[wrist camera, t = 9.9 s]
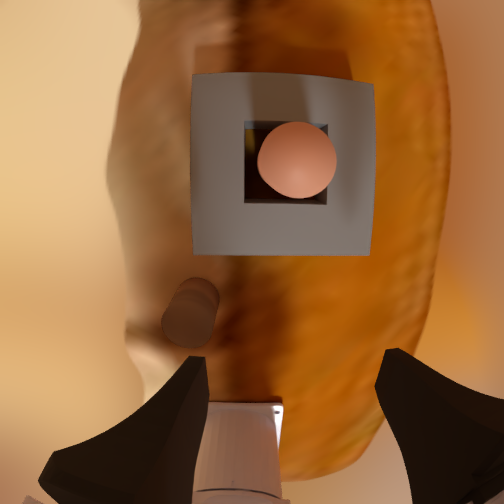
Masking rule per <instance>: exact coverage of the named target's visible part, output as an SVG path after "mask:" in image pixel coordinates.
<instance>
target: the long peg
mask: <svg viewBox="0 0 504 504" xmlns="http://www.w3.org/2000/svg"><path fill="white" fill-rule="evenodd" d="M336 163H337V160H336V152H335V149H334V146H333V144H332V142H331V140H330V139H329V138H328V136H327V135H326V134H325V133H324V132H323V131H322V130H320V129H319V128H317V127H316V126H314V125H311V124H309V123H305V122H289V123H285V124H282V125H280V126H278V127H277V128H275V129H274V130H272V131H271V132H270V133H269V134H268V136H267V137H266V138H265V140H264V142H263V144H262V146H261V149H260V151H259V154H258V157H257V170H258V173H259V175H260V176H261V178H262V179H263V180H264V181H265V182H266V183H267V184H269V185H270V186H271V187H272V188H273V189H274V190H276V191H277V192H279V193H281V194H283V195H285V196H288V197H292V198H306V197H310V196H313V195H316V194H318V193H319V192H321V191H322V190H323V189H325V188H326V187H327V185H328V184H329V183H330V182H331V180H332V178H333V176H334V173H335V170H336Z"/></svg>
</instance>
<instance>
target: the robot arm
mask: <svg viewBox="0 0 504 504" xmlns="http://www.w3.org/2000/svg"><path fill="white" fill-rule="evenodd" d="M375 390H376V393H377V397H378V400H379V403H380V406H381V408H382V410H383V413H384V415H385V417H386V419H387V421H388V423H389V425H390V427H391V429H392V432H393V434H394V436H395V438H396V440H397V442H398V445H399V447H400V450H401V452H402V456H403V459H404V463H405V466H406V470H407V475H408V479H409V484H410V489H411V496H412V502H413V504H504V399H500V398H495V397H492V396H489V395H485V394H482V393H479V392H477V391H474V390H472V389H469V388H467V387H465V386H462V385H460V384H458V383H456V382H454V381H452V380H451V379H449V378H447V377H445V376H443V375H442V374H440V373H438V372H437V371H435V370H433V369H432V368H430V367H429V366H427V365H425V364H424V363H422V362H421V361H419V360H417V359H416V358H414V357H413V356H411V355H410V354H408V353H406V352H405V351H403V350H401V349H399V348H394V349H386V350H385V353H384V357H383V360H382V364H381V367H380V370H379V374H378V377H377V380H376V383H375ZM282 416H283V404H281V403H222V402H209V387H208V379H207V370H206V361H205V357H198V356H189V357H188V358H187V359H186V360H185V361H184V363H183V364H182V365H181V366H180V367H179V369H178V370H177V371H176V372H175V373H174V375H173V376H172V377H171V378H170V379H169V380H168V381H167V382H166V383H165V385H164V386H163V387H162V388H161V389H160V390H159V391H158V392H157V393H156V394H155V395H154V396H153V397H152V398H151V399H149V400H148V401H147V402H146V403H145V404H144V405H143V406H142V407H140V408H139V409H138V410H137V411H136V412H134V413H133V414H132V415H130V416H129V417H128V418H126V419H125V420H123V421H122V422H120V423H119V424H117V425H115V426H114V427H112V428H110V429H109V430H107V431H105V432H103V433H101V434H99V435H97V436H95V437H93V438H91V439H89V440H86V441H84V442H82V443H79V444H77V445H73V446H70V447H68V448H64V449H61V450H58V451H54V452H53V454H52V455H51V457H50V458H49V460H48V462H47V464H46V466H45V467H44V469H43V471H42V473H41V475H40V477H39V479H38V482H39V484H40V486H41V487H42V488H43V490H44V491H45V492H46V493H47V494H48V495H50V496H51V497H52V498H53V499H54V500H55V501H56V502H57V503H58V504H290V500H284V499H282V489H281V478H280V466H279V454H278V448H279V441H280V433H281V425H282ZM23 504H43V503H41V502H39V501H38V500H36V499H34V498H32V497H31V496H26V498H25V500H24V502H23Z"/></svg>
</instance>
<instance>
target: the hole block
mask: <svg viewBox="0 0 504 504" xmlns="http://www.w3.org/2000/svg"><path fill="white" fill-rule="evenodd" d="M289 122H305V123H309V124H311V125H314V126H316V127H317V128H319V129H320V130H322V131H323V132H324V133H325V134H326V135H327V136H328V138H329V139H330V140H331V142H332V144H333V146H334V149H335V152H336V160H337V163H336V170H335V173H334V176H333V178H332V180H331V182H330V183H329V184H328V185H327V187H326V188H325V189H323V190H322V191H321V192H319V193H318V194H316V195H315V200H312V199H264V198H245V129H275V128H277V127H278V126H280V125H282V124H285V123H289ZM375 163H376V132H375V103H374V87H373V84H370V83H364V82H359V81H353V80H346V79H339V78H332V77H324V76H314V75H303V74H290V73H268V72H230V73H208V74H194V75H192V92H191V131H190V180H191V220H192V244H193V255H369V254H370V245H371V235H372V223H373V210H374V193H375Z"/></svg>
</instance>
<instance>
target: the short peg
mask: <svg viewBox="0 0 504 504" xmlns="http://www.w3.org/2000/svg"><path fill="white" fill-rule="evenodd" d="M218 304H219V294H218V291H217V289H216V288H215V287H214V285H213V284H211V283H210V282H209V281H207V280H205V279H202V278H191V279H188V280H186V281H184V282H183V283H182V284H181V285H180V287H179V288H178V290H177V292H176V294H175V295H174V297H173V299H172V300H171V302H170V304H169V305H168V307H167V309H166V311H165V312H164V314H163V316H162V321H161V324H162V329H163V332H164V333H165V335H166V336H167V338H168V339H169V340H170V341H172V342H173V343H174V344H176V345H178V346H181V347H185V348H196V347H200V346H202V345H204V344H205V343H206V342H207V341H208V340H209V339H210V337H211V334H212V330H213V326H214V321H215V317H216V313H217V309H218Z"/></svg>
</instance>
